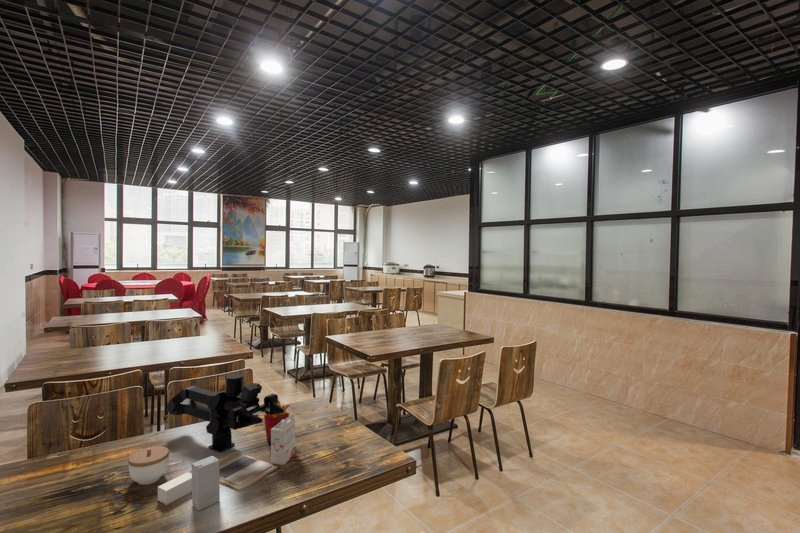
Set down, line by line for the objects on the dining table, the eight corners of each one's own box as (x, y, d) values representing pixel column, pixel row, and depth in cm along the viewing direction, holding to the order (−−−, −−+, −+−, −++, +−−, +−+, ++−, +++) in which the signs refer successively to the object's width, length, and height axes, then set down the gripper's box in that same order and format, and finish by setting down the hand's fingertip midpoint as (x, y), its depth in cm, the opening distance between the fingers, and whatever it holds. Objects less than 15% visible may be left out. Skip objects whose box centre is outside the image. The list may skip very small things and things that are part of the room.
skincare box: (213, 495, 118) (212, 454, 118) (220, 502, 115) (220, 459, 115) (190, 505, 113) (190, 462, 113) (198, 512, 110) (197, 468, 110)
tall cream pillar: (157, 500, 115) (157, 486, 115) (196, 480, 126) (196, 467, 126) (166, 505, 113) (166, 490, 113) (205, 483, 124) (205, 470, 124)
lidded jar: (126, 492, 119) (125, 461, 119) (130, 474, 128) (130, 445, 128) (168, 483, 124) (168, 453, 123) (169, 467, 133) (169, 438, 133)
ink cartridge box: (282, 451, 144) (282, 410, 144) (295, 453, 143) (295, 411, 143) (270, 464, 136) (270, 420, 136) (283, 465, 135) (284, 421, 135)
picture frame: (196, 472, 130) (196, 469, 130) (235, 452, 143) (235, 450, 143) (239, 491, 120) (239, 487, 120) (277, 468, 133) (277, 465, 133)
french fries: (289, 439, 154) (290, 399, 154) (272, 447, 147) (272, 406, 147) (273, 433, 159) (274, 395, 158) (256, 441, 152) (256, 401, 151)
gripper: (216, 391, 134) (250, 400, 126) (261, 376, 150) (293, 383, 142) (216, 424, 134) (250, 435, 127) (261, 406, 150) (293, 415, 143)
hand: (272, 415), depth 135 cm, fingers open, 9 cm apart
